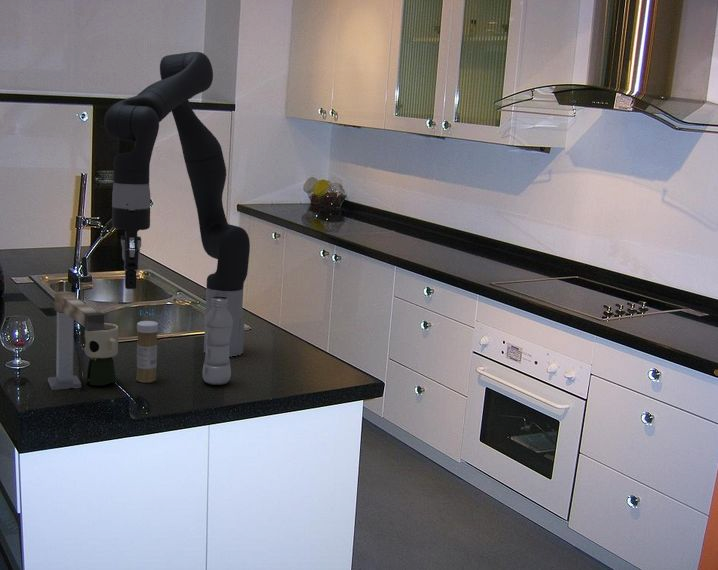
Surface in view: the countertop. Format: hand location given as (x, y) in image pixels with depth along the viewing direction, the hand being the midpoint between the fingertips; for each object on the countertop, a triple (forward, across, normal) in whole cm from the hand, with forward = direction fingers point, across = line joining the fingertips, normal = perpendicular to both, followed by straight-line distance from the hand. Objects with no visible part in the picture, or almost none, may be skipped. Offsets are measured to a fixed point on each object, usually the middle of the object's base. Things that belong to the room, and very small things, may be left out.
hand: (130, 288), depth 180 cm
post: (+23, -8, -13) cm, 28 cm away
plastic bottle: (+24, -7, +19) cm, 32 cm away
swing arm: (+7, 0, -10) cm, 12 cm away
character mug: (+24, -9, -6) cm, 26 cm away
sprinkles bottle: (+24, -11, +4) cm, 26 cm away
